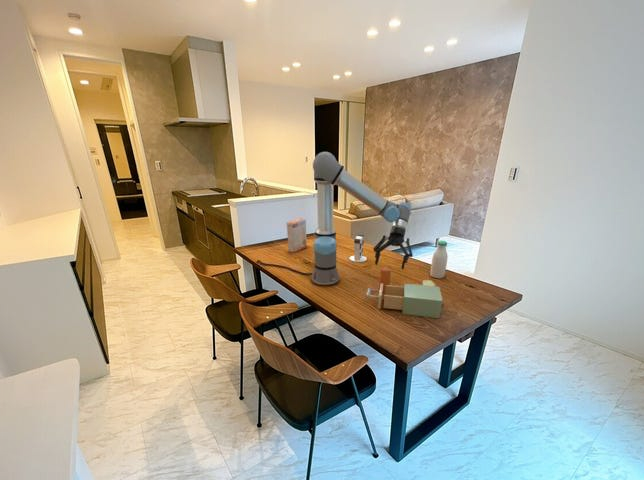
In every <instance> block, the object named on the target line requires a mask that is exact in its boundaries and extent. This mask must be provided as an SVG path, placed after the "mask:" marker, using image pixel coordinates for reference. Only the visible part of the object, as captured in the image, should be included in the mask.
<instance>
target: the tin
mask: <svg viewBox="0 0 644 480" xmlns="http://www.w3.org/2000/svg"><path fill="white" fill-rule="evenodd" d="M391 270H392V269H391V268H390V267H386V266H385V267H383V266H382V267H381V268H380V274H379V275H380V276H379V277H380V278H379V287H378V288H379V289H378V290H380V285H381V283H382V284H383V292H382V294H385V289H386V285H390V284H391V283H390V281H391V272H392V271H391Z"/></svg>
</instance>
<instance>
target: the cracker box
mask: <svg viewBox="0 0 644 480" xmlns="http://www.w3.org/2000/svg"><path fill="white" fill-rule="evenodd" d="M286 232H287V233H286V234H287V247H288V252H290V253H294V254H295V253H298V252H299V251H302V250H304V249H306V248H307V247H308V241H307V219H306V218H302V217H299V218H296V219H293V220H290V221H289V220H288V221H287V222H286Z"/></svg>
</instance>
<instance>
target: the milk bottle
mask: <svg viewBox="0 0 644 480" xmlns="http://www.w3.org/2000/svg"><path fill="white" fill-rule="evenodd" d="M447 246H448V242H447V241H445V240H439V241H438V242H437V248H436V249H435V251H434V252H433V255H432V258H431V266H430V271H429V276H430V277H431V278H435V279H443V278H444V277H445V275H446V270H447V265H448V264H447V263H448V258H449V257H448V252H447Z"/></svg>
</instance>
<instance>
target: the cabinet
mask: <svg viewBox="0 0 644 480" xmlns="http://www.w3.org/2000/svg"><path fill="white" fill-rule="evenodd" d="M403 287H404V303H403V310H401V314H402V315H409V316H417V317H424V318H432V319H433V318H435V319H440V317H441V313H442V308H443V301H444V299H443V296H442V292H441V289H440V288H441V287H440V286H436V285H435V286H426V285H423V284H414V283H405V282H404V283H403Z"/></svg>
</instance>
